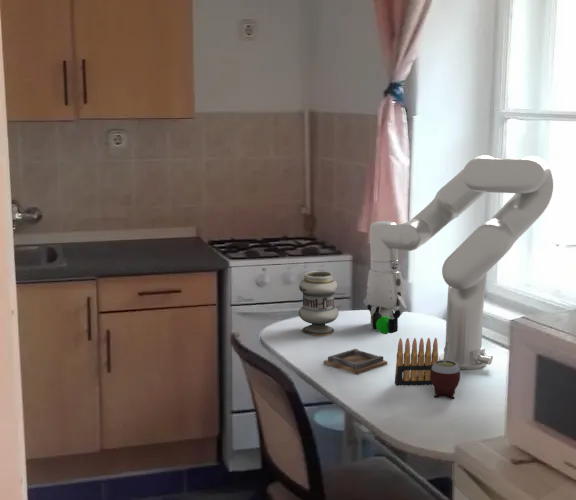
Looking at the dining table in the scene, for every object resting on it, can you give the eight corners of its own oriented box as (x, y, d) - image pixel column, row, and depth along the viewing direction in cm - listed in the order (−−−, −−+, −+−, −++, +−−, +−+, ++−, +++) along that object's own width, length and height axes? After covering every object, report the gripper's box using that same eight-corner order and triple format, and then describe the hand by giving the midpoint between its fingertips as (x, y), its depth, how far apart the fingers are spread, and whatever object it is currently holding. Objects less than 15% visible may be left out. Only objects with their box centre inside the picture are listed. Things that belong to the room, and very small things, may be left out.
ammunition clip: (436, 382, 215) (438, 336, 212) (438, 385, 213) (440, 338, 211) (394, 383, 214) (396, 337, 212) (396, 385, 212) (397, 339, 210)
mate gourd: (445, 388, 210) (447, 329, 207) (468, 398, 204) (471, 337, 201) (422, 394, 206) (424, 334, 203) (444, 404, 200) (447, 342, 197)
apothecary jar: (290, 331, 259) (290, 273, 256) (315, 323, 268) (315, 267, 265) (321, 339, 252) (322, 279, 248) (346, 330, 261) (347, 273, 257)
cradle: (387, 364, 229) (387, 357, 228) (357, 374, 220) (357, 366, 220) (353, 354, 237) (353, 347, 237) (323, 363, 229) (324, 356, 228)
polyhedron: (374, 331, 240) (374, 314, 239) (392, 330, 240) (392, 314, 239) (377, 336, 235) (377, 319, 234) (395, 335, 235) (395, 318, 234)
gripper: (417, 267, 231) (417, 333, 234) (369, 261, 243) (370, 323, 246) (400, 272, 226) (400, 338, 229) (351, 264, 238) (353, 328, 241)
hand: (385, 329), depth 237 cm, fingers closed on polyhedron, 5 cm apart
